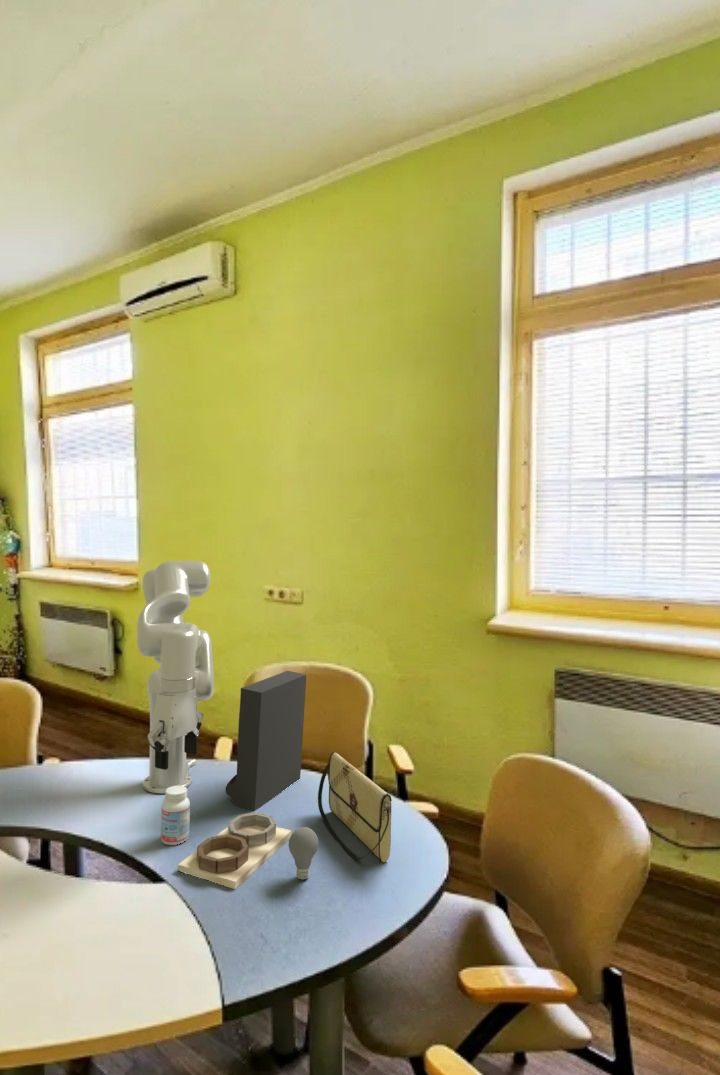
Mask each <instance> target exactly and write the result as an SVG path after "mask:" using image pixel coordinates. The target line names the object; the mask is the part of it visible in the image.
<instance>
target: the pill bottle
mask: <svg viewBox="0 0 720 1075" xmlns="http://www.w3.org/2000/svg"><path fill="white" fill-rule="evenodd" d="M164 794H165V795H164V796H165V799H164V800H163V802H162V804H161V822H160V826H161V827H160V828H161V829H160V830H161V832H160V841H161V842H162V843H163V844H164V845H167V846H177V844H178V845H181V844H183V843H185V842H186V841H187V840H188V839H189V837H190V816H191V815H190V814H191V808H190V807H191V802H190V799H189V798H188V797H187V796H188V787H184V786H172V787H169V788H167V789H166V792H165V793H164ZM184 841H185V842H184ZM180 843H181V844H180Z"/></svg>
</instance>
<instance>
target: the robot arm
mask: <svg viewBox="0 0 720 1075" xmlns="http://www.w3.org/2000/svg"><path fill="white" fill-rule="evenodd" d="M211 576H212V575H211V571H210V567H209V566H208V565H207V563H205V562H204V561H201V560H170V561H169V560H168V561H165V562H162V563H159V565H158V566H157V567H156V568H152V569H149V570H147V571H146V572H145V573H144V575H143V578H142V590H143V596H144V600H145V603H146V605H145V606H144V607H143V608H142V610H140V613H139V615H138V618H137V622H136V626H137V627H136V644H137V649H138V652H139V653H140V654H141V655H142V656H144V657H152V658H153V659H154V661H155V662H156V663H157V664H159V666H160V668H158V669H155V670H153V671H152V672H151V673H150V674H149V676H148V678H147V679H146V680H147V681H146V682H147V683H146V685H147V686H146V688H147V697H148V703H149V733H148V734H147V739H148V741H149V770H148V771H149V775H148V776H147V777H145V778H144V780H143V782H142V786H143V789H144V790H145V791H147V792H149V793H153V794H165V792H166V789H167V788H169V787H172V786H184V787H186V788H188V787H189V786H190V785H191V784H192V781H193V779H192V778H193V777H192V775H191V774H190V773H189V770H190V769H191V768H193V767H194V766H196V764H197V761H196V759H195V758H192V759H190V760H188V761H187V754H190V755H194V756H195V755H197V754H198V736H199V735H200V729H201V727H202V722H203V718H204V713H203V712H200V711H199V709H198V702H204V701H209V700H210V699H211V698H212V697H213V695H214V693H215V673H214V658H213V657H214V656H213V644H212V639H211V635H210V633H209V632H208V631H207V630H204V629H199V627H198V626H197V625H196V624H195V623H193V622H184V613H185V612H186V611H187V610H188V609H189V607H190V604H191V598H199V597H202V596H204V595H205V594H206V592H208V590H209V588H210V585H211V581H212V580H211V579H212V578H211Z"/></svg>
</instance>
